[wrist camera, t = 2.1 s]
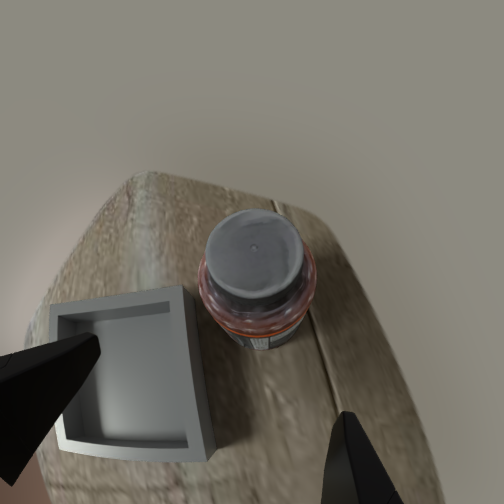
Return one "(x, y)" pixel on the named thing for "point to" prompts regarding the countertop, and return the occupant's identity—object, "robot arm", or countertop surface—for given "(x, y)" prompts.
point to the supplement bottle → (257, 278)
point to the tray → (138, 379)
